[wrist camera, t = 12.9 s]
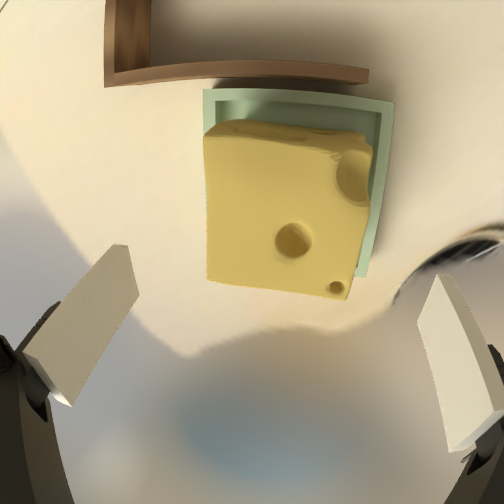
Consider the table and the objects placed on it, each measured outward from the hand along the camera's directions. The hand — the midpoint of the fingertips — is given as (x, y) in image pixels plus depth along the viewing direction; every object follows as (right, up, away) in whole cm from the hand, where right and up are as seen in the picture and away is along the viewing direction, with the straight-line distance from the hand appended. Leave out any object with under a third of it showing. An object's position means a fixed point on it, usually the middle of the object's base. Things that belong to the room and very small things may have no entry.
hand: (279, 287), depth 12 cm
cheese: (+2, +8, +14) cm, 16 cm away
